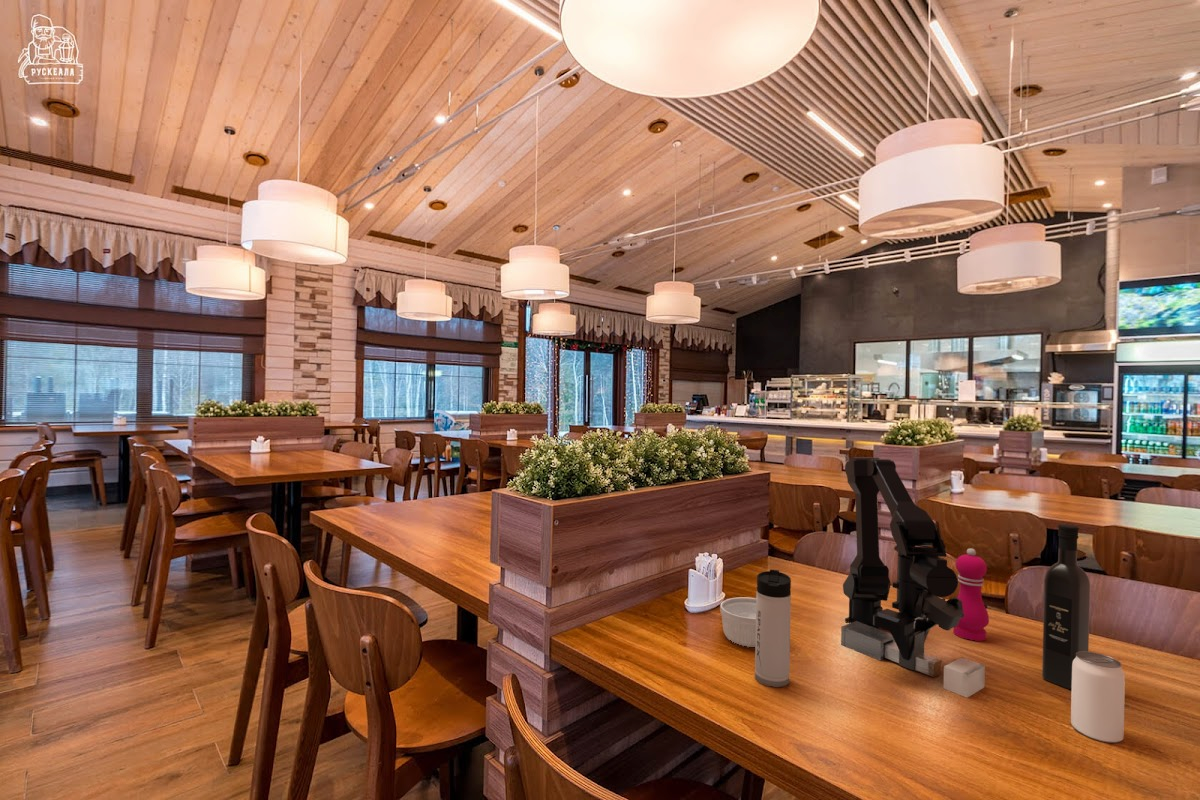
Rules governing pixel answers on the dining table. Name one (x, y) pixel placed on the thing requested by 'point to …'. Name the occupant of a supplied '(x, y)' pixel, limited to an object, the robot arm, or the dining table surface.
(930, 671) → the grey l-shaped block
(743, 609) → the ramekin
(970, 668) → the grey rectangular block
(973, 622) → the pepper mill
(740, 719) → the dining table surface
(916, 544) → the robot arm
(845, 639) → the sleeve
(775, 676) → the travel mug
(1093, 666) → the can
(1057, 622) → the wine bottle
